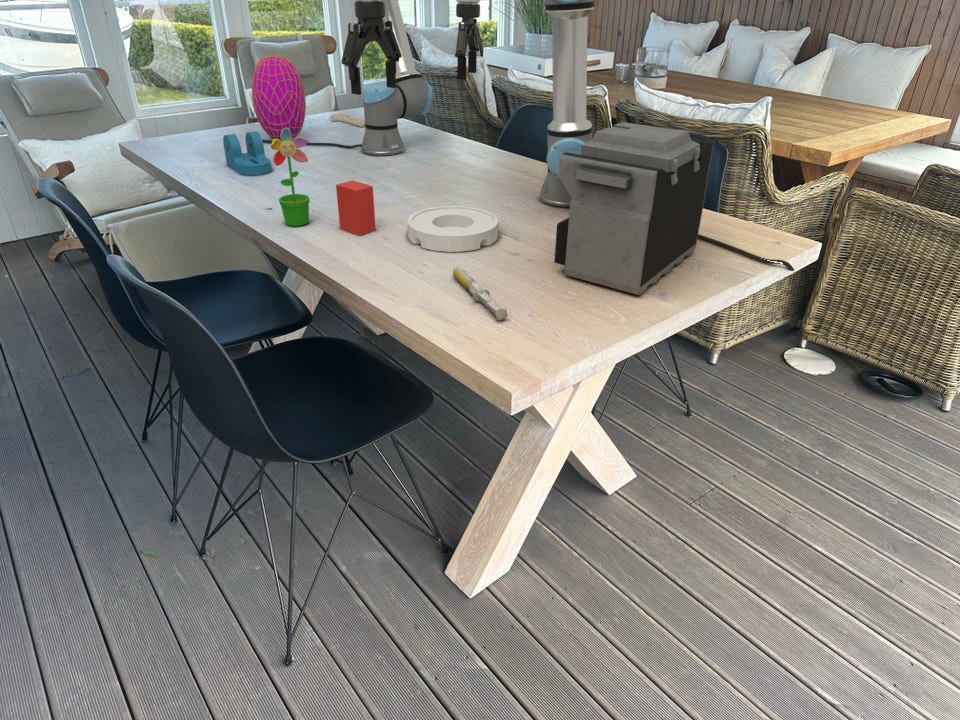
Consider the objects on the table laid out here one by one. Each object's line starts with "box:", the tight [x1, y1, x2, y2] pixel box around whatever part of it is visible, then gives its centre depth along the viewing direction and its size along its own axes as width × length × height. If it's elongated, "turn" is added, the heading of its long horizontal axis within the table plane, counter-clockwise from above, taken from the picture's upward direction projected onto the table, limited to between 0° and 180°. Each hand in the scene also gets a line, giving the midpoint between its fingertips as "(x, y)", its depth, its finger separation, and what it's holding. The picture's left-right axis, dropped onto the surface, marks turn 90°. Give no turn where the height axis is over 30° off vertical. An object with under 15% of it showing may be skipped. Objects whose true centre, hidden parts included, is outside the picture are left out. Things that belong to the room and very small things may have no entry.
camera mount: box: [222, 131, 272, 176], centre depth 226 cm, size 18×10×10 cm, turn 35°
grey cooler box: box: [554, 121, 715, 296], centre depth 154 cm, size 37×22×30 cm, turn 144°
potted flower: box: [270, 128, 310, 227], centre depth 177 cm, size 9×8×25 cm
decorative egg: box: [251, 54, 307, 141], centre depth 257 cm, size 19×19×30 cm
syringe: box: [452, 266, 509, 321], centre depth 145 cm, size 25×4×3 cm, turn 21°
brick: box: [335, 179, 377, 236], centre depth 177 cm, size 6×8×12 cm
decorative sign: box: [330, 112, 365, 128], centre depth 295 cm, size 26×1×10 cm
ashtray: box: [407, 205, 499, 253], centre depth 175 cm, size 23×23×4 cm
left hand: (467, 76), depth 225 cm, fingers open, 13 cm apart
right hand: (374, 90), depth 181 cm, fingers open, 13 cm apart
